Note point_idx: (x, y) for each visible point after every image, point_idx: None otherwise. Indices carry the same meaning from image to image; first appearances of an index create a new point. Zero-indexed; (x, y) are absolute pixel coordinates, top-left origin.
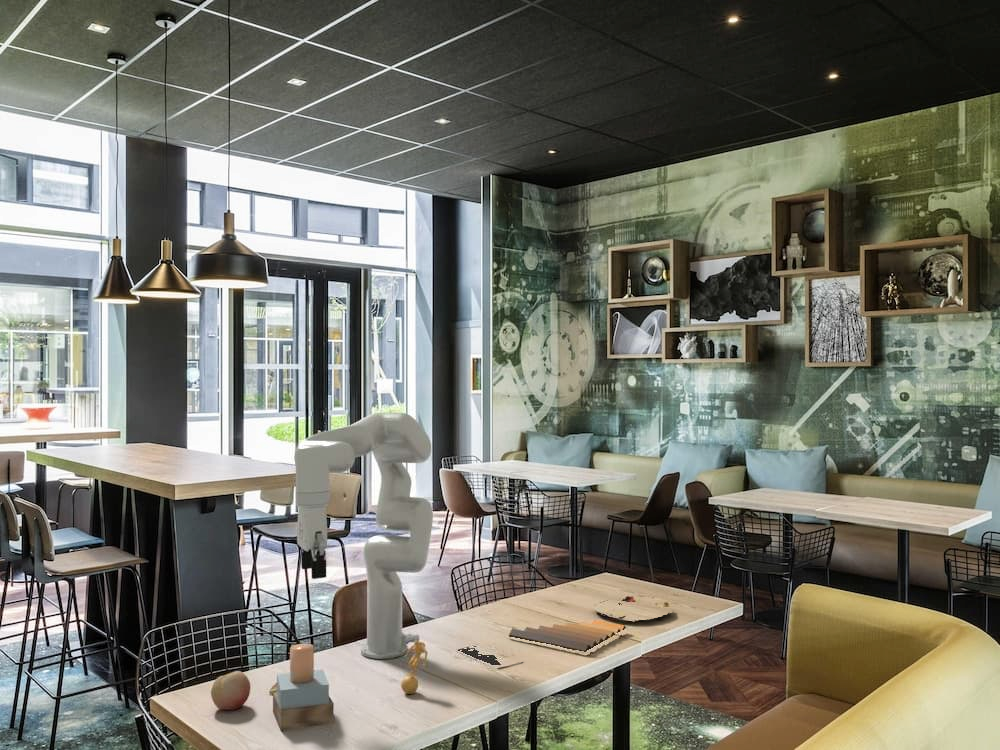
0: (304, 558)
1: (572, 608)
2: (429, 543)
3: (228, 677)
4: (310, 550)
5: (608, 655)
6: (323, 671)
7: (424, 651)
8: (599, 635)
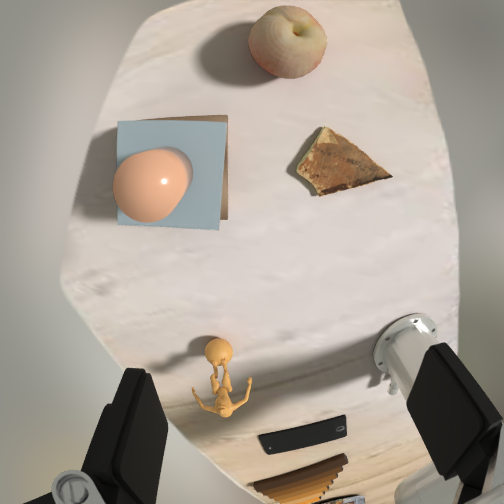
0: (456, 405)
1: (379, 484)
2: None
3: (274, 23)
4: (462, 469)
5: (246, 490)
6: (202, 228)
7: (205, 407)
8: (280, 497)
